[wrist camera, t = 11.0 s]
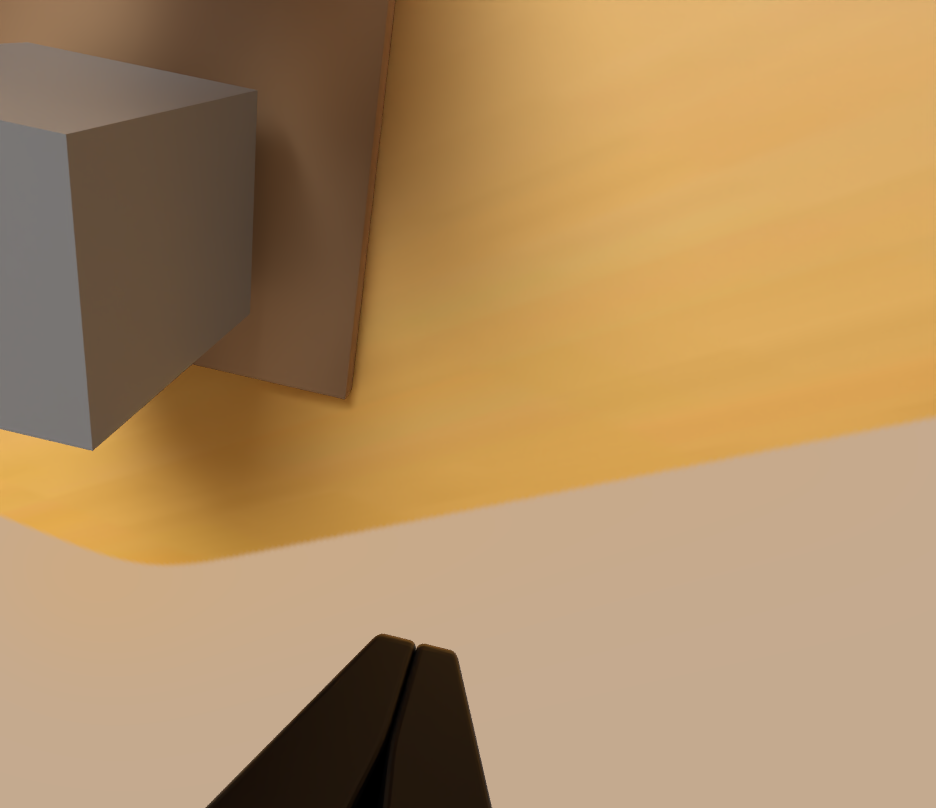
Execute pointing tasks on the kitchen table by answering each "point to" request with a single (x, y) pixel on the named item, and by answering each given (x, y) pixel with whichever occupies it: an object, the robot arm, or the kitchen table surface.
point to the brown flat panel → (269, 151)
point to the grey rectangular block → (115, 234)
